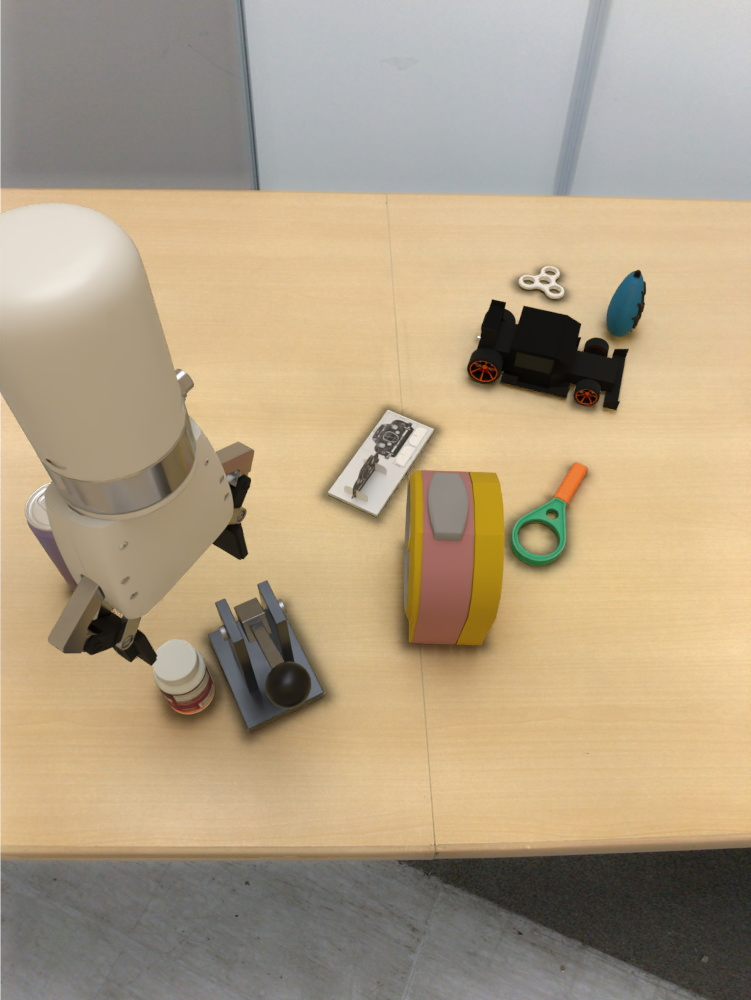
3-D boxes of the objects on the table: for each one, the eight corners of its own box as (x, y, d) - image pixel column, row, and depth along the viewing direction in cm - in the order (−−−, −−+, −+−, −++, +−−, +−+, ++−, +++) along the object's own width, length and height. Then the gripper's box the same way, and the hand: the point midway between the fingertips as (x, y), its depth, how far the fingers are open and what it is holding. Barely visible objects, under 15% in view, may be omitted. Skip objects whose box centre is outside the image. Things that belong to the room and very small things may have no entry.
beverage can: (91, 617, 78) (40, 543, 66) (64, 579, 81) (10, 501, 68) (140, 584, 80) (100, 506, 68) (112, 549, 83) (69, 467, 71)
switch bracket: (324, 696, 74) (318, 643, 63) (249, 733, 71) (230, 684, 61) (280, 607, 79) (268, 545, 69) (209, 639, 77) (185, 579, 66)
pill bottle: (162, 680, 74) (141, 646, 67) (208, 662, 76) (192, 627, 69) (174, 723, 72) (154, 692, 65) (221, 704, 73) (207, 672, 66)
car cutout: (377, 517, 86) (377, 494, 82) (327, 494, 88) (326, 471, 84) (434, 431, 94) (437, 407, 90) (387, 411, 95) (388, 387, 92)
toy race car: (614, 415, 96) (631, 374, 90) (464, 379, 99) (470, 338, 93) (624, 360, 101) (640, 319, 95) (481, 328, 105) (489, 286, 99)
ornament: (630, 352, 102) (653, 294, 94) (596, 343, 103) (616, 285, 95) (639, 314, 107) (661, 256, 99) (607, 306, 108) (627, 248, 100)
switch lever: (322, 705, 58) (311, 671, 56) (280, 725, 57) (267, 692, 55) (272, 619, 69) (261, 588, 67) (235, 635, 68) (223, 604, 66)
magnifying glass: (548, 575, 82) (552, 568, 81) (499, 550, 84) (502, 542, 82) (601, 483, 89) (605, 474, 88) (555, 461, 91) (559, 452, 90)
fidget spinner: (551, 267, 112) (552, 262, 112) (578, 291, 109) (579, 286, 109) (514, 282, 110) (515, 277, 110) (541, 307, 107) (542, 302, 107)
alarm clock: (403, 535, 85) (411, 431, 70) (474, 538, 85) (499, 434, 70) (401, 658, 76) (411, 570, 61) (481, 661, 76) (511, 573, 61)
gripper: (177, 323, 44) (222, 491, 58) (-66, 529, 35) (56, 667, 49) (278, 373, 42) (300, 535, 56) (45, 607, 33) (140, 728, 47)
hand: (185, 597), depth 53 cm, fingers open, 9 cm apart
